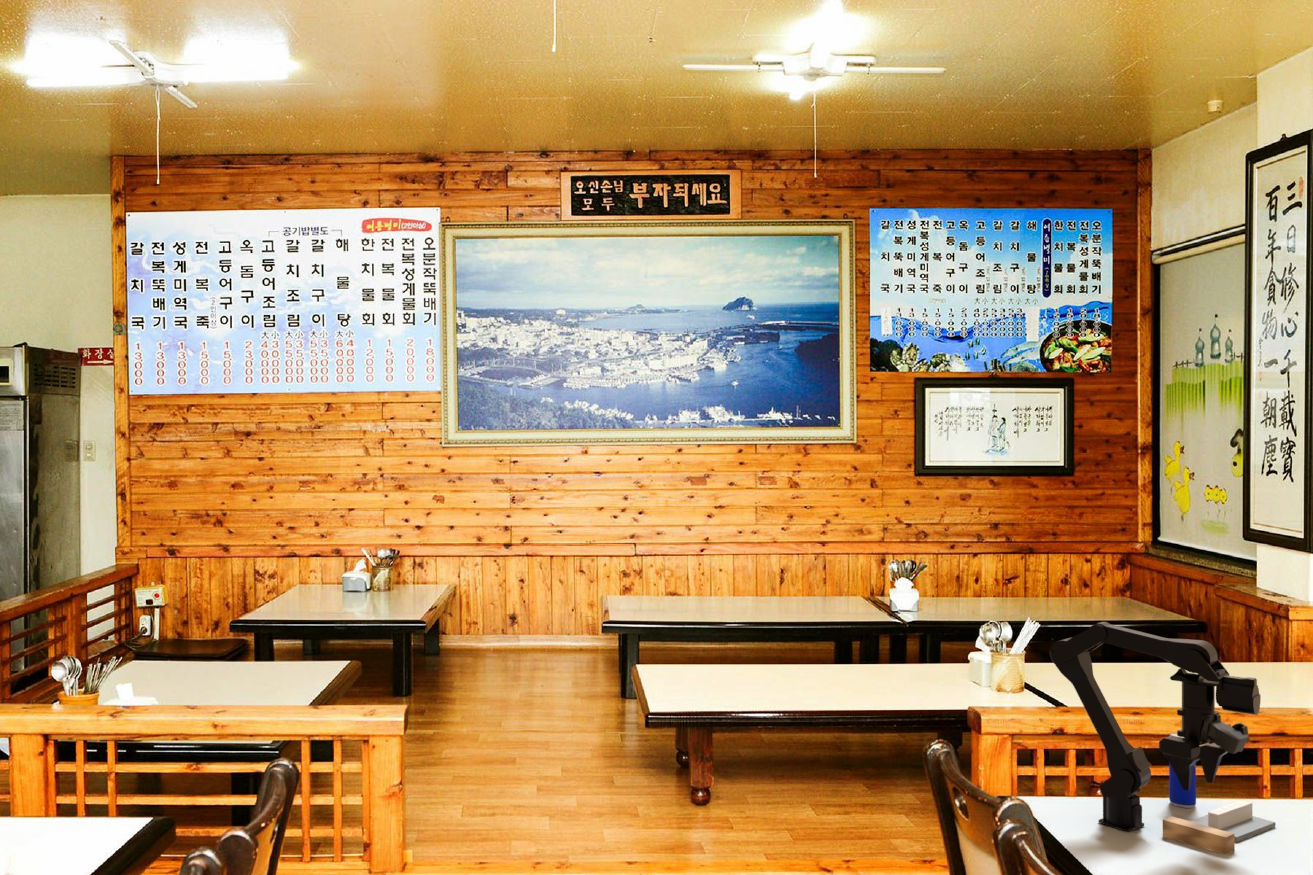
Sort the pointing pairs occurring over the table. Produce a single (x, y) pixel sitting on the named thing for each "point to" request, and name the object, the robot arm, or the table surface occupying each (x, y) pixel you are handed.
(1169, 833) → the oak bar
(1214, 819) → the stand
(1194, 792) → the beverage can
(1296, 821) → the table surface
